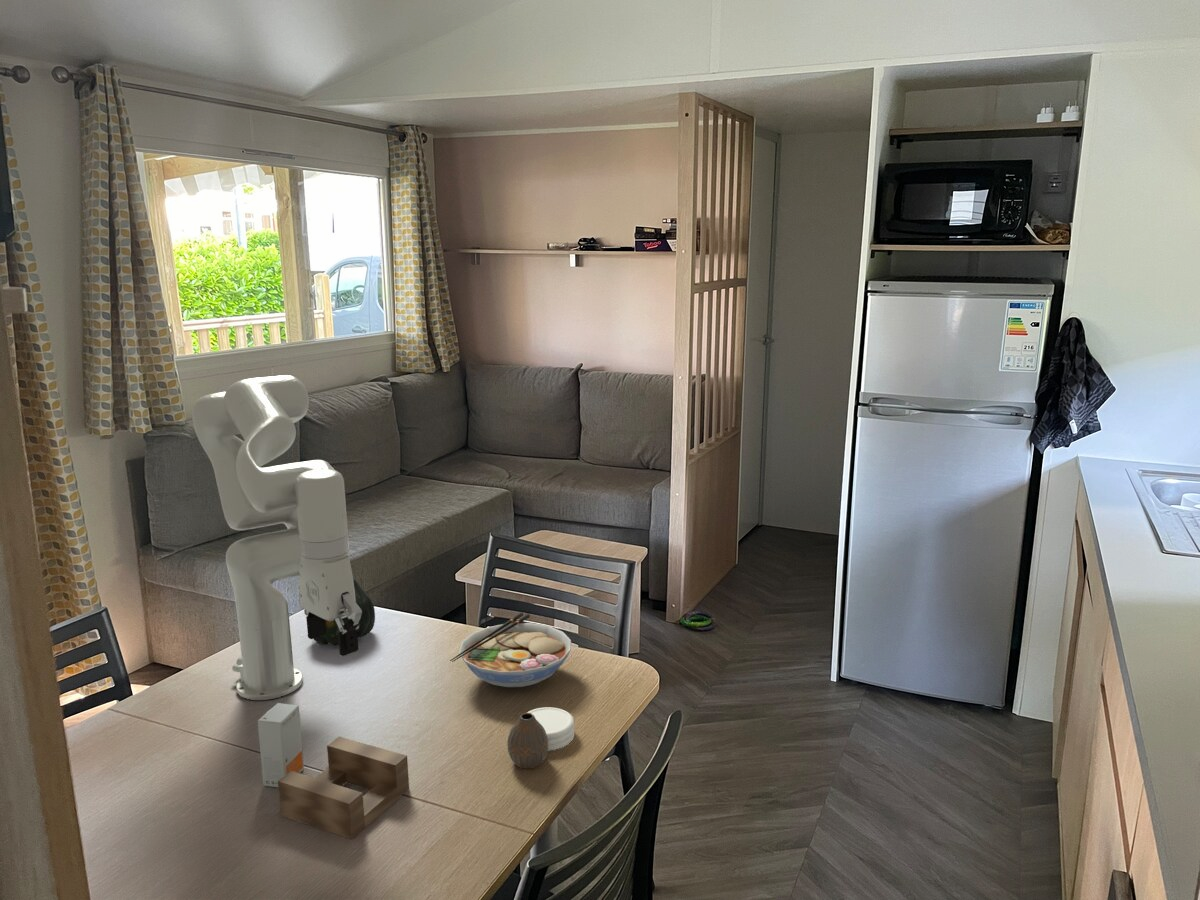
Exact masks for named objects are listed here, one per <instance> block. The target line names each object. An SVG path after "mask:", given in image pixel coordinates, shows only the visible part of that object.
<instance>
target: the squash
mask: <svg viewBox="0 0 1200 900" xmlns="http://www.w3.org/2000/svg"><path fill="white" fill-rule="evenodd" d="M353 582H354V589H355V601H356V603H357V605H358V606H359V607H360V608H361V610H362V614H361V618H360V620H361V621H360V624H359V628H358V629H357V634H358V639H359V638H362V637H365V636H367V635H369V634H370V633H371V632H372V630H373V629H374V627H375V622H376V621H375V620H376V610H375V606H374V603H373V600H372V598H371V597H370V595H369V594H368V592H366V591H365V589H364V588H363V587H362V586H361V585H360V583H359V582H358V581H357V580H356V579H355V578H354V577H353ZM343 612H344V611H340V613H343ZM340 613H339V614H340ZM308 616H309V615H308ZM342 620H343V622H344V624H345V623H346V622H347V621H348V620H349V619H348V617H345V618H342ZM326 630H327V633H326V634H325V635H322V636H319V637H316V638H313V639H312V640H314V641H315V642H316V643H318V644H321V645H328V643H329V645H330V646H337V645H339V640H338V633H339V632H340V629H339V627H338V625H337V623H336V621H335V619H334V620H333V621H327V620H326Z"/></svg>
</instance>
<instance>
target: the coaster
mask: <svg viewBox="0 0 1200 900" xmlns="http://www.w3.org/2000/svg"><path fill="white" fill-rule="evenodd" d="M526 713H532V714H533V715H534V717H535V718H536V720H537V721H538V722H539V723H540V724H541V725H542V726H543V727H544V729H545V731H546V734H547V738H548V750H547V752H551V751H550V750H553V751H557V750H556V749H558V750H560V749H559V748H561V749H563V748H565V747H566V745H567V746H568V745H570V744H571V743H572V742H571V741H573V740H574V738H575V720H574V717H573V715H572V714H571V713H570V712H568V711H566V710H564V709H562V708H558V707H550V706H548V707H547V706H544V707H537V708H534V709H531V710H529V711H528V712H527V711H526ZM570 742H571V743H570ZM569 743H570V744H569ZM564 746H565V747H564ZM562 747H563V748H562Z"/></svg>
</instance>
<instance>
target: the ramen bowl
mask: <svg viewBox="0 0 1200 900" xmlns="http://www.w3.org/2000/svg"><path fill="white" fill-rule="evenodd" d="M530 615H531V614H528V613H527V614H526V615H525V614H524V612H519V613H518V614H515V616H513V617H512V618H510V619H509V620H507V621H506V622H504V623H502V624H497V625H493V626H487V627H485V628H482V629H480V630H477V631H475V632H472V633H470V635H469V636H467V637H466V638H464V640H462V641H461V643H460V647H459V650H458V653H459V654H457V655H456V656H454V657H453V658H452V659H449V662H452V663H454V662H455V661H456V660H458V659H460V658H462V660H463V662H464V663H465V665H466V666H467V667H468V668H469V670H470V671H471V672H472V673H473V674H474V675H475V676H476V677H477V678H479V679H481V680H482V681H484V682H486V683H488V684H491V685H494V686H498V687H504V688H523V687H528V686H532V685H536V684H538V683H541V682H542V681H545V680H547V679H548V678H550V677H552V675H554V674H555V673H556V672H557V670H558V669H559V668H560V667H562V665H563V663H564V662H565V661H566V659H567V658H568V657H569V655H570V652H571V649H572V640H571V639H570V637H569V636H568V635H567V634H566V633H565V632H564V631H562V630H560V629H558V628H556V627H553V626H550V625H547V624H539V623H534V622H532V623H531V622H524V621H526V620H527V619H529V618H530Z"/></svg>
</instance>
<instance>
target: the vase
mask: <svg viewBox="0 0 1200 900" xmlns="http://www.w3.org/2000/svg"><path fill="white" fill-rule="evenodd" d="M506 745H507V752H508V755H509V758H510V760H511V762H513V763H514V764H515V766H517V767H519V768H521V769H524V768H525V770H527V769H528V770H530V769H529V768H531V769H534V768H536V767H538V766H540V764H541V763H542V762H544V760H545V759H546V756H547V753H548V751H547V750H548V738H547V734H546V731H545V729H544V727H543V726H542V725H541V724H540V723H539V722H538V721H537V720H536V718H535V717H534V715H533V714H532V713H527V712H523V713H521V714H520V716H519V717H518V719H517V721H515V723H514V725H513V726H512V727H511V729H510V731H509V733H508V737H507V744H506Z"/></svg>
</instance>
